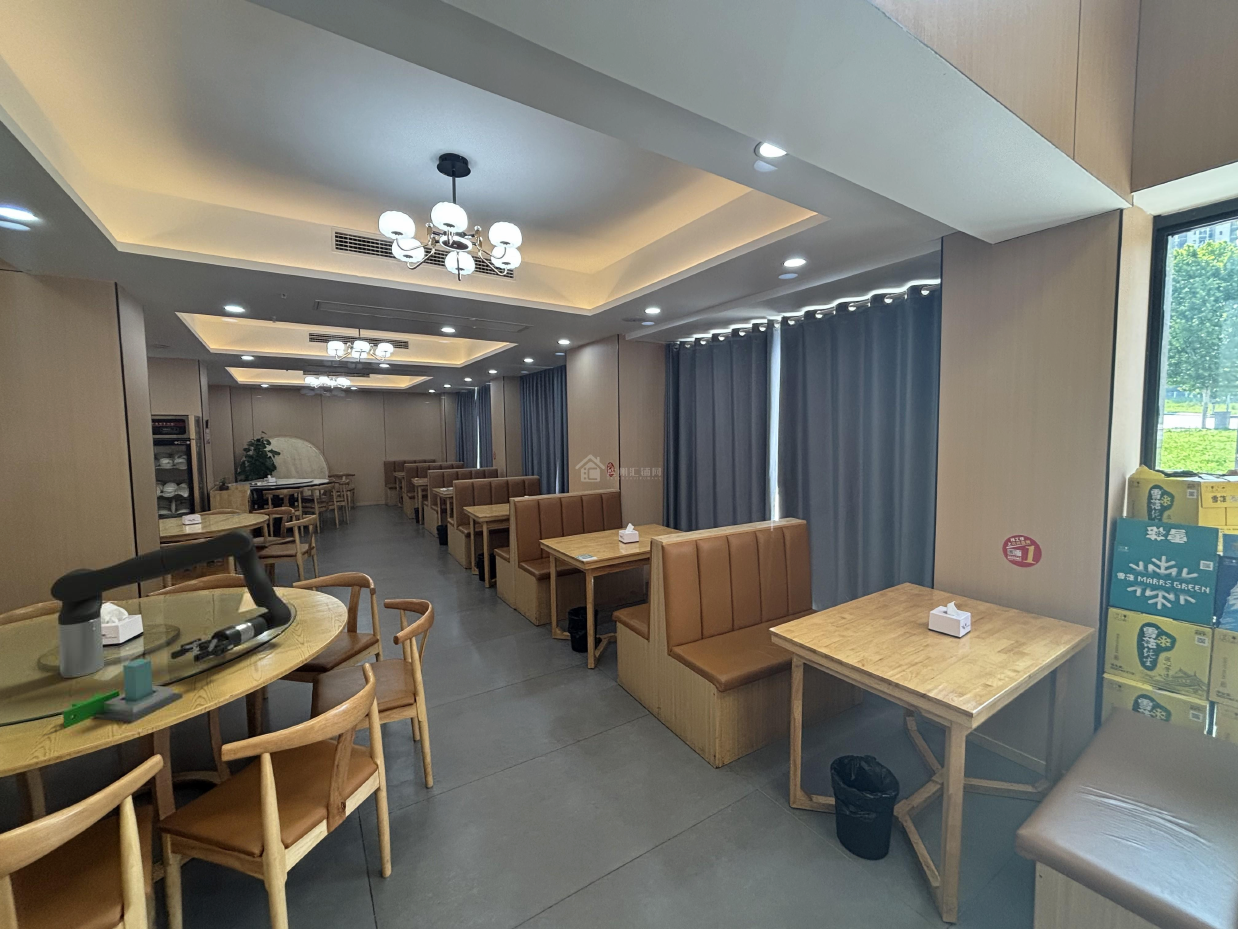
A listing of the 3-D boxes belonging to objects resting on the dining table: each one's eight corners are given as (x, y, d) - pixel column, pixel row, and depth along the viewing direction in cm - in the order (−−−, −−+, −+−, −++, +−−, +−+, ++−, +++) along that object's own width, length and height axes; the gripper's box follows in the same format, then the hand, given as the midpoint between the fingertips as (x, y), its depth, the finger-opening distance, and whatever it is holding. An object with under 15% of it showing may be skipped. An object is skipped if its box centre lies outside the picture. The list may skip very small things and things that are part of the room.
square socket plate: (93, 717, 133) (92, 705, 133) (146, 692, 146) (146, 681, 146) (131, 723, 131) (131, 710, 131) (182, 697, 144) (182, 685, 144)
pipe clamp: (111, 704, 141) (110, 688, 140) (120, 706, 140) (119, 690, 139) (57, 725, 130) (56, 709, 130) (66, 728, 129) (65, 711, 129)
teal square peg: (125, 706, 137) (123, 665, 136) (141, 699, 141) (139, 658, 140) (137, 708, 136) (134, 666, 136) (153, 700, 140) (150, 660, 140)
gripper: (215, 623, 167) (163, 643, 151) (250, 627, 165) (201, 648, 149) (216, 645, 168) (164, 667, 152) (251, 648, 165) (203, 671, 149)
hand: (183, 657), depth 150 cm, fingers open, 8 cm apart
